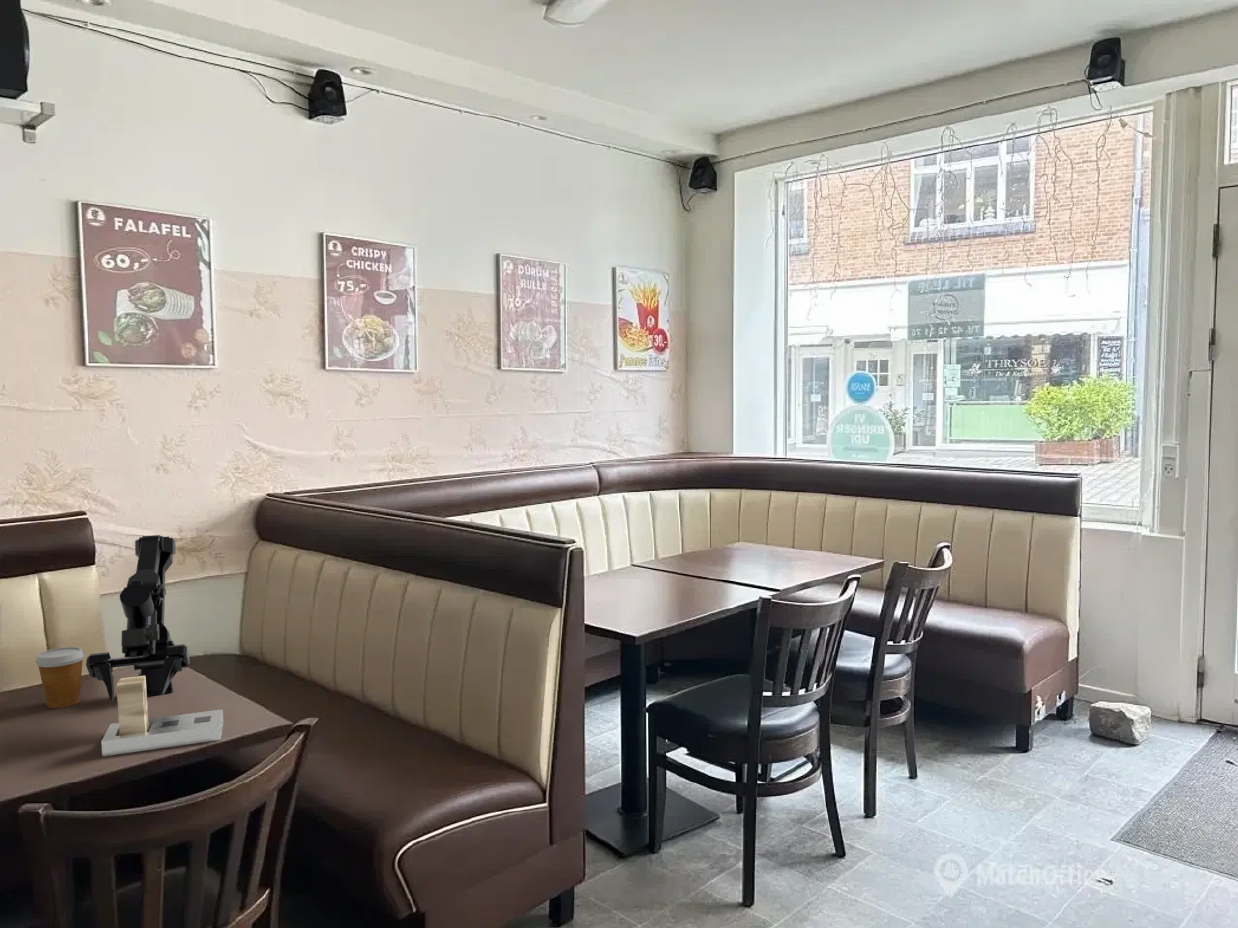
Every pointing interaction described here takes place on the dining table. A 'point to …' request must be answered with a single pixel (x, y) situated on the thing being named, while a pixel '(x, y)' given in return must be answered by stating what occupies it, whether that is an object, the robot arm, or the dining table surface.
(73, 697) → the disposable coffee cup
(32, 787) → the dining table surface
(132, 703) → the beech peg
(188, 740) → the white flat block
